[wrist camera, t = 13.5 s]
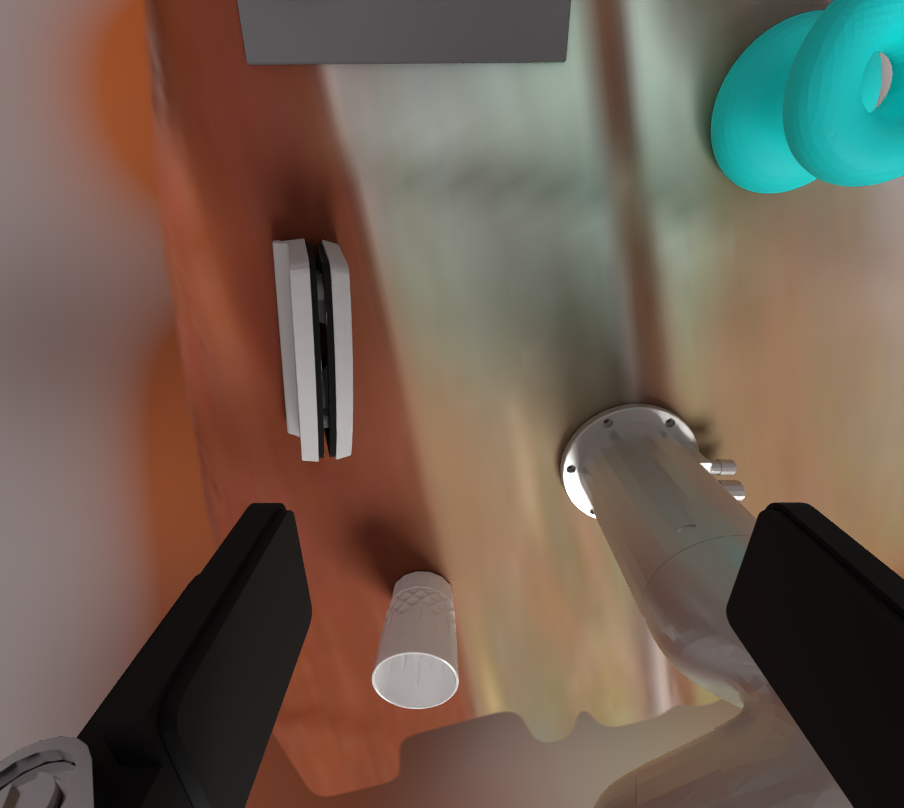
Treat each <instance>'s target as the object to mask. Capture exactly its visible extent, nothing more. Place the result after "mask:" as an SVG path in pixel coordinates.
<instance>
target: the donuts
mask: <svg viewBox="0 0 904 808" xmlns="http://www.w3.org/2000/svg"><path fill="white" fill-rule="evenodd" d="M880 52H882V53H884V54H885V55H886V56H887V57H888V58H889V60H890V62H891V64H892V70H893V76H892V82H891V86H890V89H889V91H888V93H887V95H886V97H885V98H884V100H883V101H882V103H881V104H880V105H879V106H878V107H877V108H876V109H875V107H876V104H877V101H878V98H879V94H880V89H881V81H882V63H881V57H880ZM711 143H712V148H713V152H714V156H715V159H716V161H717V163H718V165H719V167H720V169H721V170H722V172H723V173H724V174H725V175H726V177H727V178H728V179H730V180H731V181H732V182H733V183H735V184H736V185H738V186H739V187H742V188H744V189H746V190H749V191H752V192H756V193H781V192H786V191H790V190H793V189H796V188H799V187H801V186H804V185H806V184H808V183H810V182H812V181H814V180H816V179H817V178H818V179H820V180H822V181H824V182H827V183H831V184H835V185H840V186H849V187H857V186H868V185H874V184H879V183H883V182H886V181H890V180H892V179H895V178H898V177H901V176H903V175H904V0H833V1H832V2H831V3H830V4H829V5H828V7H827V8H826V9H825V10H817V11H810V12H806V13H802V14H798V15H795V16H793V17H790V18H788V19H786V20H784V21H782V22H780V23H778V24H777V25H775V26H773V27H772V28H770V29H769V30H767V31H766V32H764V33H763V34H762V35H761V36H759V37H758V38H757V39H756V40H755V41H754V42H753V43H752V44H751V45H750V46H749V47H748V48H747V49H746V50H745V51H744V52H743V53H742V54H741V56H740V57H739V58H738V59H737V61H736V62H735V63H734V65H733V66H732V68H731V69H730V71H729V72H728V74H727V76H726V78H725V80H724V81H723V83H722V86H721V88H720V90H719V93H718V95H717V98H716V101H715V105H714V109H713V114H712V120H711Z"/></svg>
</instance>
